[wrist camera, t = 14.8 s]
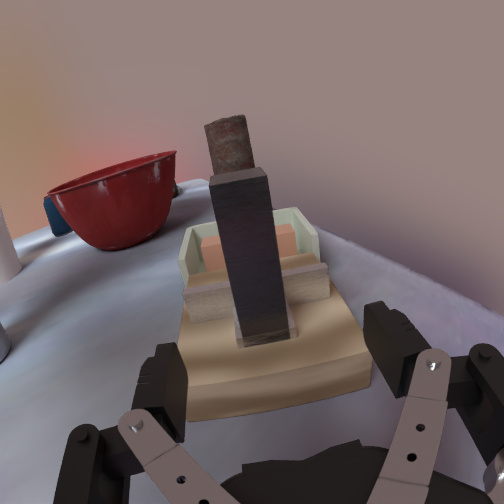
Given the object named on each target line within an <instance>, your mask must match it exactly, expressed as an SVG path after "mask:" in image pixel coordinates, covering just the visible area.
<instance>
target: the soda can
mask: <svg viewBox="0 0 504 504" xmlns="http://www.w3.org/2000/svg"><path fill="white" fill-rule="evenodd" d="M44 207H45V211H46V214H47V217H48V220H49V224H50V227H51V230H52V233H53V234H54V235H55V236H56V237H60V236H63V235H65V234H68V233H69V232H71V231H72V230H73V229H72V228H71V227H70V226H69V225H68V223H67V222H66V221H65V220H64V218H63V217H62V215H61V214H60V212H59V211H58V209H57V208H56V206H55V204H54V202H53V201H52V199H51V197H50V195H48V196H46V197H44Z"/></svg>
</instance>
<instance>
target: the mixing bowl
mask: <svg viewBox="0 0 504 504" xmlns="http://www.w3.org/2000/svg"><path fill="white" fill-rule="evenodd" d="M176 152H177V151H168V152H163V153H158V154H154V155H149V156H145V157H141V158H138V159H134V160H131V161H127V162H123V163H120V164H117V165H113V166H110V167H107V168H104V169H101V170H98V171H95V172H92V173H90V174H87V175H84V176H82V177H79V178H76V179H74V180H72V181H69V182H67V183H64V184H62V185H60V186H58V187H56V188H54V189H52V190H50V191H49V192H48V193H47V194H48V195H50V197H51V199H52V201H53V202H54V204H55V206H56V208H57V209H58V211H59V212H60V214H61V215H62V217H63V218H64V220H65V221H66V222H67V223H68V225H69V226H70V227H71V228H72V229H73V230H74V232H75V233H76V234H77V235H78V236H79V237H80V238H81V239H83V240H84V241H85V242H86V243H88V244H89V245H91V246H93V247H96V248H101V249H103V250H109V251H110V250H118V249H123V248H126V247H130V246H133V245H135V244H138V243H140V242H142V241H144V240H146V239H148V238H150V237H152V236H153V235H154V234H156V233H157V232H158V230H159V228H160V227H161V226H162V225H163V224H164V222H165V221H166V219H167V216H168V214H169V210H170V206H171V201H172V196H173V189H174V178H175V154H176Z"/></svg>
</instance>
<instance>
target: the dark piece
mask: <svg viewBox="0 0 504 504" xmlns="http://www.w3.org/2000/svg"><path fill="white" fill-rule="evenodd" d="M209 189H210V194H211V199H212V204H213V208H214V213H215V218H216V223H217V227H218V232H219V237H220V241H221V246H222V250H223V255H224V259H225V264H226V268H227V273H228V277H229V281H224V282H219V283H213V284H208V285H202V286H197V287H191V288H185V289H184V290H183V298H184V301H185V305H186V308H187V311H188V314H189V317H190V320H191V323H192V324H198V323H204V322H210V321H216V320H221V319H227V318H233V317H234V324H235V337H236V342H237V346H238V349H241V348H246V347H252V346H257V345H263V344H268V343H273V342H278V341H283V340H288V339H293V338H297V333H296V326H295V323H294V320H293V317H292V314H291V311H290V309H289V307H290V306H295V305H300V304H305V303H310V302H314V301H319V300H324V299H328V298H330V287H329V270H328V266H327V265H326V263H325V262H323V263H318V264H313V265H308V266H303V267H298V268H293V269H288V270H282V271H281V265H280V258H279V251H278V244H277V237H276V231H275V224H274V217H273V211H272V205H271V198H270V191H269V185H268V178H267V175H266V173H265V172H264V171H263V170H262V168H261V167H257V168H251V169H245V170H239V171H234V172H229V173H224V174H218V175H213V176H211V177H210V183H209Z"/></svg>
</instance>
